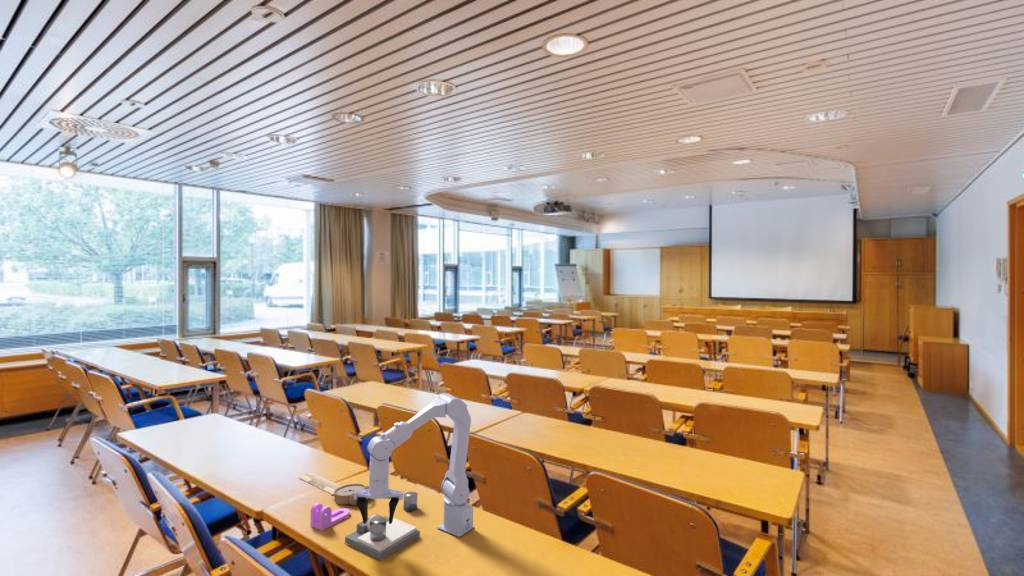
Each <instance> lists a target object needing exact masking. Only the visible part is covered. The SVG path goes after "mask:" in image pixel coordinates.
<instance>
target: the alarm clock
mask: <svg viewBox="0 0 1024 576" xmlns="http://www.w3.org/2000/svg"><path fill="white" fill-rule="evenodd" d="M366 489H369V485H365V484H363V483H349V484H345V485H342V487H339V488H337V489H336V490H335V491H334V494H333V495H331V494H330V496H331V497H333V498H334V499H333V501H334V503H335V502H336V503H335V504H337V505H351V506H354V507H355V506H357V505H356V502H357V499H354V492H355V491H356V490H366ZM368 500H370V499H369V498H368Z"/></svg>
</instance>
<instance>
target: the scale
mask: <svg viewBox="0 0 1024 576" xmlns="http://www.w3.org/2000/svg"><path fill="white" fill-rule="evenodd" d="M378 517H382V518H385V519H386V538H385V539H384V540H383V541H379V542H373V541H371V540H370V521H371V520H372V519H374V518H378ZM420 535H421V531H420V530H419V529H417V526H415V525H412V524H410V523H407V522H404V521H402V520H400V519H398V518H396V517H393V521H392V524H389V516H388V517H387V516H382V515H380V514H377V513H376V514H374V515H372V516H370V517H368V520H367V522H366V524H365V523H363V520H362V521H360V522H359V523H357V524H356V530H355V531H352V533H350V534H347V535H345V537H344V544H346V543H347V544H346V545H348V544H349V545H348V546H350V545H351V546H350V547H352V546H353V548H354V549H356V550H359V551H360V552H363V553H364V554H366V555H369V556H370V557H373V558H374V559H377V560H379V561H383V560H384V559H386V558H388V557H389V556H391V555H392V554H394V553H395V552H397V551H398V550H401V549H403V548H404V547H405V546H407V545H409V544H411V543H413V542H414V541H415V540H417V539H419V538H420V537H421V536H420Z"/></svg>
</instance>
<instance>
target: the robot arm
mask: <svg viewBox="0 0 1024 576" xmlns="http://www.w3.org/2000/svg"><path fill="white" fill-rule="evenodd" d="M447 416H448V417H449V418H450V419H451V421H452V422H453V423H454V424H453V431H452V432H453V433H452V441H451V449H450V458H449V459H450V460H449V467H448V470H447V471H446V472H445V474H444V479H443V480H442V482H441V487H440V488H441V491H442V493H443V494H444V498H443V523H441V524H440V525H438V526H437V529H439V530H441V531H443V532H446V533H449V534H451V535H454V536H456V537H458V538H460V537H462V536H464V535H465V534H466V533H468V532H469V531H471V530H472V529H474V528H475V525H474V508H473V505H471V504H469V502H467V501H468V500H469V497H470V488H469V479H468V476H467V474H466V468H467V466H466V465H467V457H468V451H469V449H468V448H469V440H470V432H471V424H472V417H471V415H470V413H469V410H468V404H466V403H465V402H464V400H462V399H461V398H458V397H456V396H454V395H452V394H451V393H448V392H443V393H440V395H439V396H437V397H435V398H433V400H432V401H431V402H430V403H429V404H427V405H426V406H425V407H424V408H422V409H421V410H420V411H419V412H417V413H416V414H415V415H414V416H412V417H411V418H410V419H408V420H407V421H400V422H395V423H393V425H394V426H392V427H391V428H389V429H388V430H386V431H385V432H382V433H380V435H376V436H374V437H372V438H371V439H370V441H369V442H368V445H366V449H367V451H368V453H369V469H368V471H369V474H368V486H369V489H366V490H356V491H355V492H354V499H357V502H356V506H357V508H358V510H359V512H360V514H361V519H362V521H363V523H365V524H366V522H367V520H368V518H369V512H368V510H369V509H368V506H369V500H370V499H371V500H372V499H373V500H380V499H381V500H387V499H388V500H389V502H388V508H389V509H388V512H389V516H388V518H389V524H392V521H393V519H394V515H395V512H396V509H397V506H398V504H399V501H402V500H404V491H403V490H397V489H392V488H390V487H389V483H390V481H389V479H390V476H389V475H390V457H391V455H392V453H393V451H394V449H396V448H398V447H399V446H400V445H402V444H403V443H404V442H406V441H407V440H409V439H410V438H412V436H413V435H412V434H413V432H414V431H415V430H417V429H418V428H420V427H421V426H423V425H424V424H426V423H428V422H430V421H431V420H432V419H434V418H445V419H446V418H447ZM368 498H369V499H368Z"/></svg>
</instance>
